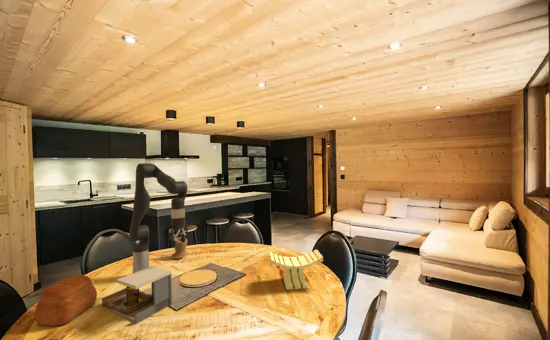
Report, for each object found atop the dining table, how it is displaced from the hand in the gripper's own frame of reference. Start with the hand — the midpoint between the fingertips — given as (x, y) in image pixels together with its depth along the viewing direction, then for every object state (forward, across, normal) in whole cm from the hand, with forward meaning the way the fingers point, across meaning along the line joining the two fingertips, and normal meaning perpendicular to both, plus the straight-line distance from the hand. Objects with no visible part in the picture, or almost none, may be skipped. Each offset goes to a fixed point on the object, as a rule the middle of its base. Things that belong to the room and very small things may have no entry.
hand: (178, 244), depth 149 cm
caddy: (+27, +18, -18) cm, 37 cm away
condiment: (+28, +18, -16) cm, 37 cm away
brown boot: (+28, -49, -36) cm, 68 cm away
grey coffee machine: (+27, +20, -7) cm, 34 cm away
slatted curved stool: (+26, -28, +62) cm, 73 cm away
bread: (+28, +34, -38) cm, 58 cm away
